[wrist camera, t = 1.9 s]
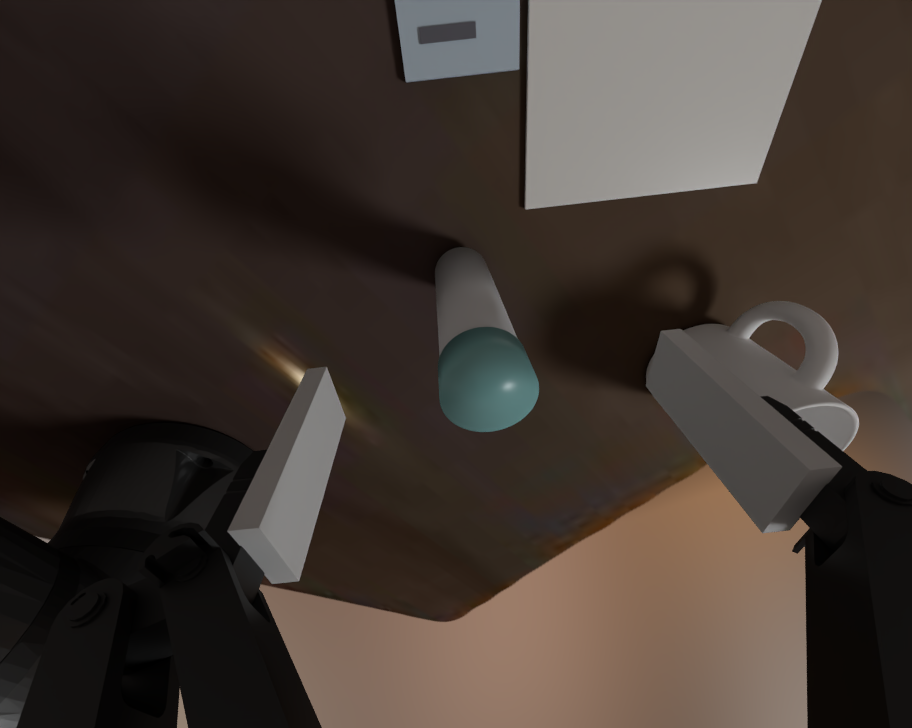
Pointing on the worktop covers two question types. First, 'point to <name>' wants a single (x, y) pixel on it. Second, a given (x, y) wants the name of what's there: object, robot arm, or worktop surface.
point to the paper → (655, 94)
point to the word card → (458, 37)
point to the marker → (478, 348)
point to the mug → (784, 365)
